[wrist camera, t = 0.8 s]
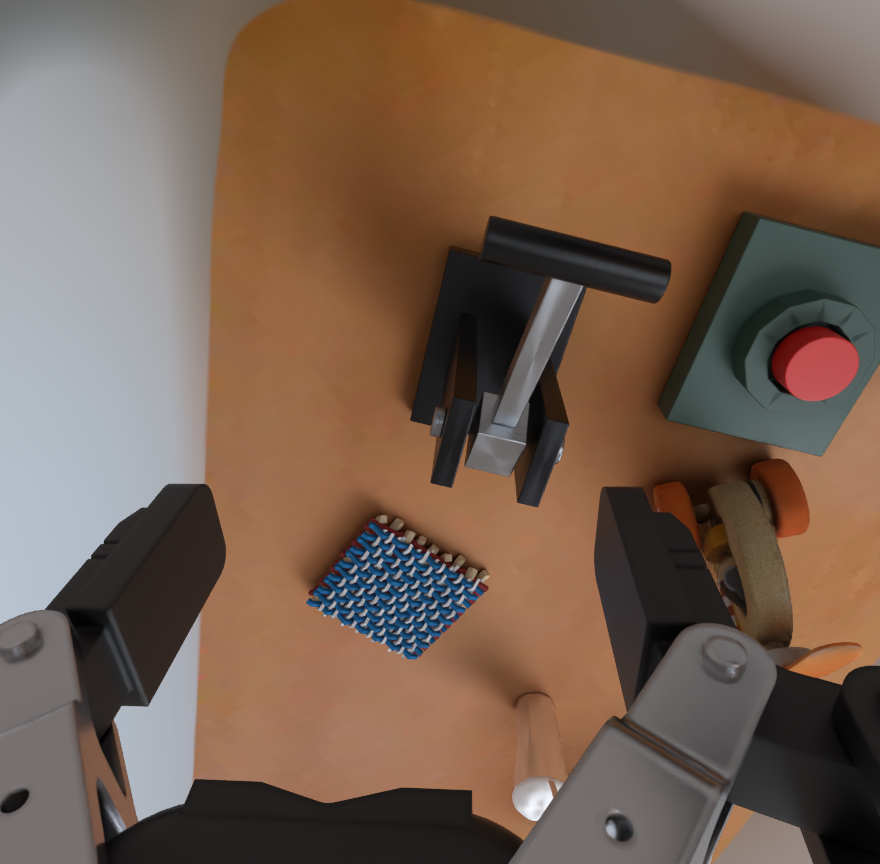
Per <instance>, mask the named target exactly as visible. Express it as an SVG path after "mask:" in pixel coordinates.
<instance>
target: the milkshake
mask: <svg viewBox="0 0 880 864" xmlns="http://www.w3.org/2000/svg"><path fill="white" fill-rule="evenodd" d="M568 776H569V773H568V769H567V765H566V760H565V756H564V751H563V746H562V741H561V736H560V731H559V726H558V721H557V716H556V712H555V707H554V704H553V702H552V701H551V699H550V697H547V696H545V695H543V694H541V693H529V694H526V695H524V696H523V697H521V698H519V699H518V702H517V705H516V712H515V753H514V776H513V794H512V800H513V804H514V806H515V808H516V809H517V810H518V811H519V812H520V813H521V814H522V815H524V816H525V817H526V818H528V819H529V820H533V821H538V820H539V818H540V817H541V815H542V814H543V812H544V811H545V809H546V808H547V807H548V805H549V804H550V802H551V801H552V799H553V798H554V796H555V795H556V793H557V792H558V791H559V789H560V788H561V786H562V785H563V783H564V782H565V780H566V779H567V777H568Z"/></svg>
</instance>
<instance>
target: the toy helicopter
mask: <svg viewBox="0 0 880 864" xmlns="http://www.w3.org/2000/svg"><path fill="white" fill-rule="evenodd" d="M653 499H654V505H655V510H656V512H671V513H672V514H673V515H674V516H675V517H676V518H677V519H679V520H680V521H681V522H682V523H683V524H684V525H685V526H686V527H688V528H689V529H690V531H691V533H692V535H693V537H694V539H695V542H696V544H697V546H698V548H699V552H700V549H703V552H704V555H705V557H706V559H707V560H708V561H709V562H711V563H712V564H713V567H714V570H715V572H716V574H717V582H718V585H719V588H720V592H721V595H722V598H723V600H724V603H725V605H726V607H727V609H728V611H729V613H730V615H731V617H732V619H733V621H734V624H735V626H736V628H737V630H740V631H742V632H744V633H745V634H747V635H749V636H750V637H752V638H753V639H755V640H756V641H757V642H759V643H760V644H761V645H762V646H763V647H764V648H765V649H766V650H767V651H768V653H769V654H770V656H771V657H772V659H773V661H774V663H775V664H776V665H778V666H780V667H783V668H785V669H787V670H790V671H793V672H796V673H800V674H803V675H807V676H811V677H814V678H819V677H822V676H825V675H828V674H830V673H832V672H834V671H836V670H838V669H839V668H841V667H843V666H845V665H846V664H848V663H850V662H851V661H853V660H854V659H856V658H858V657H859V656H860V655H861V654H862V653H863V648H862V647H861V645H859V644H857V643H850V642H841V643H832V644H827V645H824V646H820V647H817V648H814V649H813V650H810V649H807V648H802V647H789V645H790V642H791V639H792V632H793V615H792V604H791V598H790V592H789V586H788V580H787V575H786V571H785V567H784V562H783V558H782V555H781V552H780V549H779V546H778V539H777V538H784V537H789V536H794V535H800V534H802V533H804V532H806V530H807V529H808V526H809V522H810V517H809V508H808V504H807V500H806V496H805V493H804V490H803V487H802V485H801V482H800V480H799V478H798V477H797V475H796V473H795V472H794V470H793V469H792V467H791V466H790V465H789V463H788V462H786V461H785V460H782V459H772V460H768V461H763V462H759V463H756V464H754V465H753V466H752V468H751V472H750V481H745V482H742V481H734V482H729V483H725V484H720V485H716V486H713V487H711V488H710V489H709V490H707V492H706V504H700V505H696V506H692V503H691V500H690V497H689V495H688V493H687V491H686V489H685V487H684V485H683V484H682V483H680V482H676V481H675V482H670V483H665V484H661V485H658V486H656V487H654V490H653ZM705 522H708V528H709V530H708V531H707V532H705V533H704V534H703V535H702V539H701V536H700V533H699V528H698V524H697V523H699V524H702V523H705Z"/></svg>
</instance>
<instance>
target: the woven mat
mask: <svg viewBox="0 0 880 864" xmlns="http://www.w3.org/2000/svg"><path fill="white" fill-rule="evenodd" d="M368 523H369V524H367V523H365V524H364V525H363V527H364V529H365V530H366V531H364V533H363V532H362V531H360V532H359V533H358V535H357V536H358V538H357V540H356V539H353V541H352V543H351V544H352V545H353V546H352V547H350V546H348V547H347V548H346V551H342V552H341V553H340V554H341V557H344V558H343V559H341V561H340V560H338V559H337V560H336V562H335V564H334V565H335V566H333V565H332V566H331V568H330V569H329V570H330V571H332V573H328V572H326V574H325V576H324V577H325V578H324V579H322V578H321V579H320V580H319V583H318V584H320V586H318V585H316V586H315V587H314V589H313V590H310V591H309V592H308V593H309V595H315V596H314V597H313V598H312V599H310V598H309V600H308V601H307V602H306V603H307V604H308V605H310V606H313V607H319V608H317V609H318V610H319V611H321V610H322V611H323V612H324V613H323V616H324V617H325V616H326V615H331V616H330V617H331V618H334V617H336V618H338V619H339V620H340V621H341V624H340V625H341V626H343V625H349V627H350V628H353V627H355V628H356V631H355V632H356V633H358V632H360V633H361V634H366V635H365V636H366V637H372V641H371V642H373V643H374V641H380V642H379V643H378V644H384V643H386V644H387V646H388V647H389V649H388V651H389V652H391V650H392V651H395V650H398V651H396V653H397V654H400V653H403V655H402V657H403V658H404V657H405V656H406V657H407V658H408V659H417V658H418V656H419V657H420V656H421V655H422V653H423V651H422V650H421V649H423V650H425V651H426V650H427V649H428V647H429V646H430V645H429V642H430V643H431V644H433V643H434V642H435V639H436V640H437V639H438V638H439V636H440V635H441V632H443V633H444V632H445V631H446V630H447V628H449V627H450V626H451V624H452V623H453V622H454V623H455V622H456V621H457V619H458V618H459V616H461V615H462V614H463V613H464V612H465V611H466V609H465V607H467V608H469V607H470V606H471V605H472V604H474V603H475V601H476V600H477V599H478V598H479V597H478V596H481V595H482V594H483V593H484V592H486V591H487V590H488V586H486V585H485V584H483V582H484V581H485V580H486V579H487V578H488V577H489V576H490V575H489V573H488V571H487V570H482V571H481V572H480V573H479V574H478V575H477V576H476V574H477V572H478V571H477V570H476V569H474V568H472V567H469V568H468V569H460V567H461V566H462V564H463V563H464V562H465V561H466V559H465V558H464V556H462V555H459V556H458V557H457V558H456V559H455V561H454V562H453V563H452V564H450V563H449V562H451V561H452V554H447V553H444V554H443V555H441V556H440V557H439V556H437V555H436V554H437V552H438V551H439V548H438V547H437V546H436V545H434V544H432V546H431V547H430V548H429V549H426V548H424V547H422V546H423V545H424V544H425V542H426V540H427V539H426V538H425V537H424V536H423V535H422V536H419V538H418V539H417V540H416V541H415V540H414V536H415V535H416V534H415V533H414V532H412V531H410V530H407V531H406V533H405V532H398V530H399V529H400V528H401V527H402V526H403V525H404V523H403V520H401V519H398V518H396V519H395V520H394V522H393V523H392V524H391V525H390V527H388V526H386V525H384V524H385V523H387V516H386V515H381V516H377V518H376V519H373V518H371V519H370V520H369V522H368ZM419 552H420V553H419ZM379 557H380V558H379ZM417 560H418V561H417ZM389 565H390V566H389ZM347 571H348V572H347ZM475 576H476V577H475ZM360 577H362V578H360ZM397 579H400V580H397ZM434 580H435V581H434ZM471 581H472V582H471ZM336 584H337V585H336ZM381 598H383V599H381ZM372 604H373V605H372ZM444 607H445V608H444ZM365 615H366V616H367V617H366V616H365ZM433 619H434V620H433ZM373 622H374V623H373ZM350 624H352V625H350ZM445 626H446V627H447V628H446V627H445ZM437 630H439V631H437ZM440 631H441V632H440ZM383 634H384V635H385V636H382V635H383ZM420 648H421V649H420ZM412 653H413V654H412Z"/></svg>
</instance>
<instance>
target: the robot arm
mask: <svg viewBox="0 0 880 864" xmlns="http://www.w3.org/2000/svg"><path fill="white" fill-rule="evenodd" d="M225 558H226V546H225V540H224V537H223V533H222V529H221V525H220V521H219V518H218V514H217V510H216V506H215V502H214V499H213V495H212V492H211V490H210V488H209V486H207V485H206V484H168V485H166V486H165V487H164V488H163V489H162V490H161V492H160V493H159V494H158V495H157V496H156V498H155V499H154V500H153V501H152V503H151V504H150V505H149V506H148V507H147V508H141V509H139V510H138V511H136V512H135V513H133V514H132V515H130V516H129V517H127V518H126V519H124V520H123V521H121V522H120V523H119V524H118V525H117V526H116V527H115V528H114V529H113V531H112V532H111V533H110V534H109V535H108V536H107V538H106V539H105V540H104V544H101V545H100V546H99V547H98V548H97V549H96V551H95V552H94V553H93V554H92V555H91V559H88V560H87V561H86V562H85V563H84V564H83V566H82V567H81V568H80V569H79V571H78V572H77V573H76V574H75V575H74V576H73V577H72V579H71V580H70V581H69V582H68V583H67V584H66V585H65V587H64V588H63V589H62V590H61V591H60V592H59V594H58V595H57V596H56V597H55V598H54V599H53V601H52V602H51V603H50V604H49V605H48V606H47V608H46V609H45V610H39V611H33V612H29V613H25V614H22V615H19V616H17V617H14V618H12V619H10V620H8V621H6V622H4V623H2V624H0V864H709V862H710V859H711V857H712V855H713V852H714V850H715V848H716V845H717V843H718V841H719V839H720V836H721V834H722V832H723V829H724V827H725V825H726V822H727V820H728V818H729V815H730V813H731V811H732V808H733V806H734V804H735V805H738V806H741V807H743V808H746V809H749V810H752V811H755V812H758V813H760V814H763V815H766V816H769V817H772V818H774V819H777V820H780V821H783V822H786V823H789V824H791V825H794V826H797V827H800V829H801V832H802V835H803V837H804V840H805V843H806V845H807V848H808V851H809V853H810V856H811V859H812V862H813V864H880V666H864V667H859V668H857V669H854V670H852V671H851V672H849V673H848V675H847V676H846V677H845V679H844V682H843V684H842V685H840V684H836V683H833V682H829V681H825V680H822V679H818V678H814V677H811V676H807V675H803V674H800V673H796V672H793V671H790V670H787V669H785V668H783V667H780V666H778V665H776V664H775V663H774V661H773V659H772V657H771V656H770V654H769V653H768V651H767V650H766V649H765V648H764V647H763V646H762V645H761V644H760V643H759V642H757V641H756V640H755V639H753V638H752V637H750V636H749V635H747V634H745V633H744V632H742V631H740V630H737V628H736V626H735V624H734V621H733V619H732V617H731V615H730V613H729V611H728V609H727V607H726V605H725V603H724V600H723V598H722V596H721V594H720V592H719V590H718V588H717V586H716V584H715V582H714V579H713V577H712V575H711V573H710V571H709V569H707V567H706V563H705V560H704V558H703V556H702V554H701V553H699V548H698V546H697V544H696V542H695V539H694V537H693V535H692V533H691V531H690V529H689V528H688V527H686V526H685V525H684V524H683V523H682V522H681V521H680V520H679V519H677V518H676V517H675V516H674V515H673V514H672V513H671V512H653V511H652V509H651V506H650V504H649V501H648V499H647V496H646V494H645V491H644V489H643V488H642V487H603V488H602V490H601V494H600V502H599V512H598V521H597V530H596V539H595V550H594V564H595V575H596V581H597V585H598V589H599V594H600V598H601V602H602V607H603V611H604V615H605V619H606V624H607V628H608V632H609V637H610V641H611V645H612V650H613V654H614V658H615V662H616V667H617V671H618V675H619V680H620V684H621V688H622V693H623V697H624V701H625V705H626V710H627V713H626V715H625V716H624V717H623V718H622V719H619V718H618V717H616V716H613V717H611V718H610V719H609V720H608V721H607V722H606V723H605V724H604V725H603V727H602V728H601V729H600V731H599V732H598V734H597V735H596V737H595V738H594V739H593V741H592V742H591V744H590V745H589V747H588V748H587V750H586V751H585V753H584V754H583V755H582V757H581V758H580V760H579V761H578V763H577V764H576V766H575V767H574V769H573V770H572V772H571V773H570V774H569V776H568V777H567V779H566V780H565V782H564V783H563V785H562V786H561V788H560V789H559V791H558V792H557V793H556V795H555V796H554V798H553V799H552V801H551V802H550V804H549V805H548V807H547V808H546V809H545V811H544V812H543V814H542V815H541V817H540V818H539V820H538V821H537V823H536V824H535V826H534V827H533V828H532V830H531V831H530V833H529V834H528V836H527V837H526V839H525V840H524V841H523V840H522V839H521V838H520V837H518V836H517V835H515V834H514V833H512V832H511V831H509V830H508V829H506V828H505V827H503V826H501V825H499V824H497V823H495V822H493V821H491V820H489V819H486V818H483V817H481V816H478V815H475V814H472V790H448V789H423V788H398V789H394V790H389V791H385V792H380V793H375V794H371V795H366V796H362V797H357V798H353V799H348V800H344V801H339V802H334V803H323V802H319V801H316V800H313V799H310V798H307V797H304V796H301V795H298V794H295V793H292V792H289V791H286V790H283V789H281V788H278V787H275V786H272V785H269V784H266V783H263V782H251V781H227V780H202V779H195V780H194V782H193V785H192V787H191V790H190V792H189V794H188V797H187V799H186V801H185V804H182V805H177V806H174V807H172V808H169V809H166V810H163V811H160V812H158V813H156V814H154V815H151V816H149V817H147V818H145V819H143V820H141V821H139V822H138V819H137V816H136V812H135V807H134V803H133V798H132V794H131V789H130V785H129V780H128V776H127V771H126V766H125V761H124V757H123V752H122V747H121V743H120V739H119V734H118V729H117V727H116V724H115V722H114V720H113V719H114V717H115V716H116V714H117V712H118V711H119V709H120V707H121V706H149V704H150V702H151V700H152V698H153V696H154V695H155V693H156V691H157V689H158V687H159V685H160V684H161V682H162V680H163V678H164V677H165V675H166V673H167V671H168V669H169V667H170V666H171V664H172V662H173V660H174V658H175V657H176V655H177V653H178V651H179V649H180V647H181V646H182V644H183V642H184V640H185V638H186V636H187V635H188V633H189V631H190V629H191V627H192V626H193V624H194V622H195V620H196V618H197V617H198V615H199V613H200V611H201V609H202V608H203V606H204V604H205V602H206V600H207V598H208V597H209V595H210V593H211V591H212V589H213V588H214V586H215V584H216V582H217V580H218V579H219V577H220V575H221V573H222V571H223V568H224V564H225Z"/></svg>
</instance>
